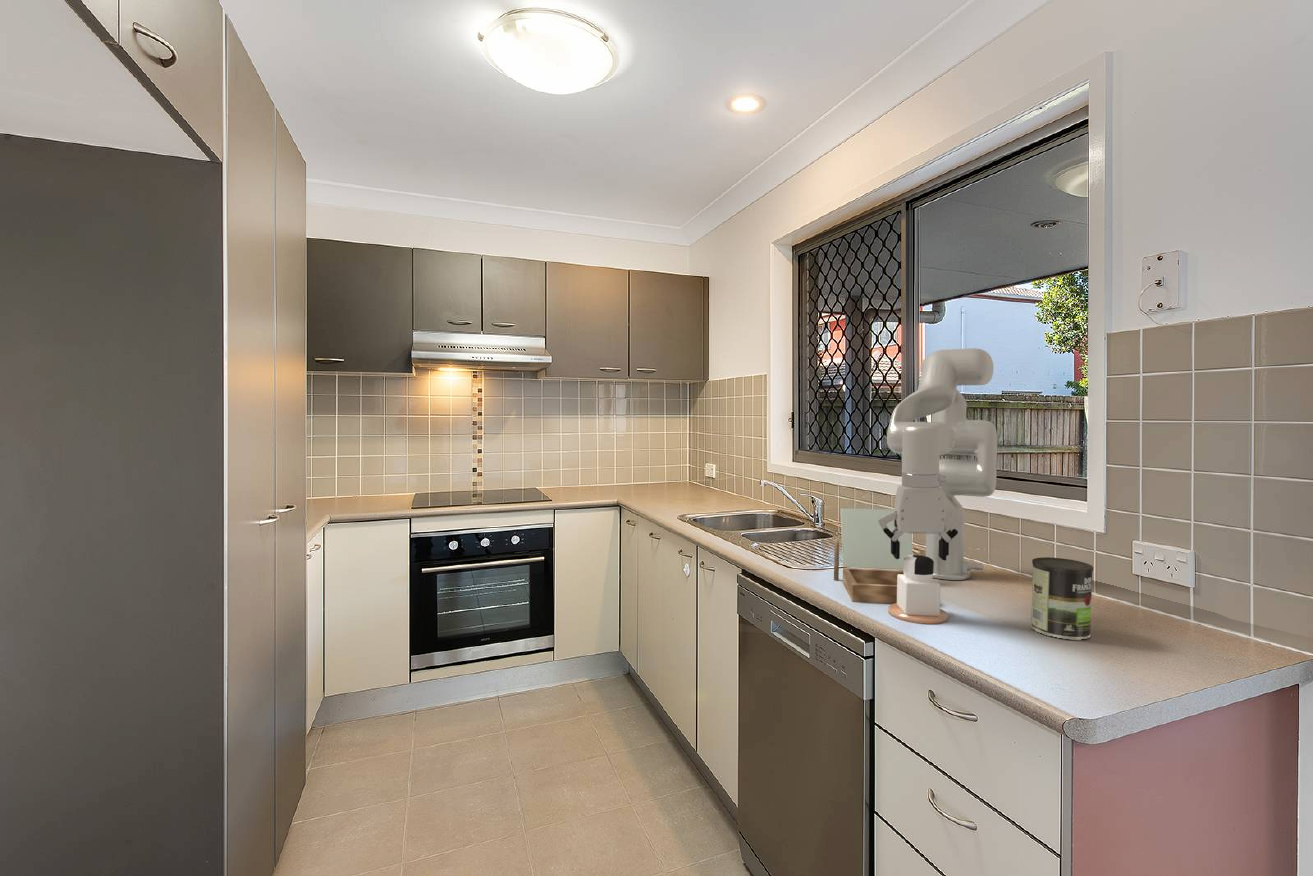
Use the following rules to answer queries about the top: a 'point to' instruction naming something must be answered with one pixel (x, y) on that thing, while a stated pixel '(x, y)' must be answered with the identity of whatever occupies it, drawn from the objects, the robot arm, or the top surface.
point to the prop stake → (836, 559)
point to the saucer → (917, 616)
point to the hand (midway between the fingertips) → (919, 558)
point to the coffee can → (1061, 598)
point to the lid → (870, 540)
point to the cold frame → (871, 584)
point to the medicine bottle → (918, 587)
